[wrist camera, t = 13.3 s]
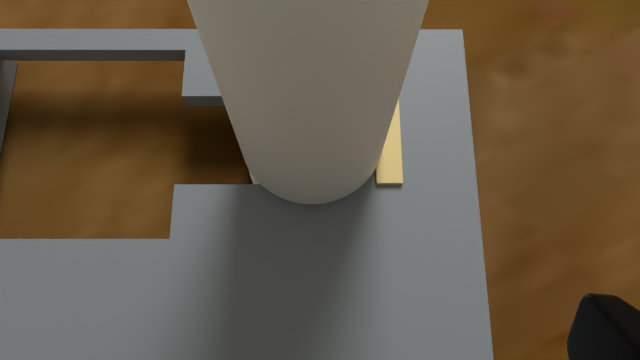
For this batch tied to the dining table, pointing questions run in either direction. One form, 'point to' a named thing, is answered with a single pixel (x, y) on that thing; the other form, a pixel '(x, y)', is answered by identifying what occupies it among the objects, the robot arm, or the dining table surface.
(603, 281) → the dining table surface
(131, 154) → the dining table surface
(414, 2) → the footed peg
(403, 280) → the keyhole plate
